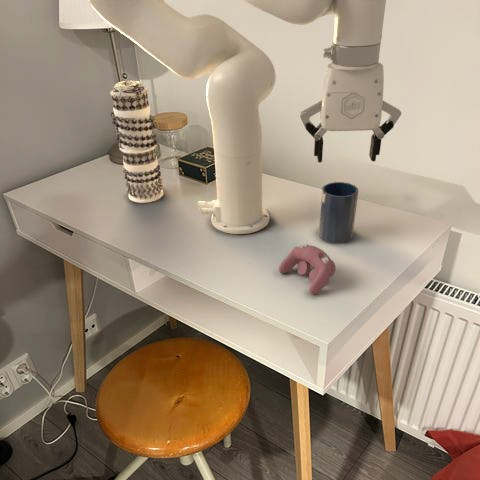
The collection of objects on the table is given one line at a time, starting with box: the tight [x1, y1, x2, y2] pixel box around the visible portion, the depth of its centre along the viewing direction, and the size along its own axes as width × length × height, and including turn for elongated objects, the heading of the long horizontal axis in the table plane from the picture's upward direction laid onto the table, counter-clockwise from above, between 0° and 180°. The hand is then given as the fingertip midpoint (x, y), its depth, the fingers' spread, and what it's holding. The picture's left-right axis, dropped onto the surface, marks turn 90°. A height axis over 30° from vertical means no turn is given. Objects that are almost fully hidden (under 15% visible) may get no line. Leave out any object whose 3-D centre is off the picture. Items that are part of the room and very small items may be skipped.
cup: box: [318, 181, 359, 245], centre depth 96 cm, size 7×7×10 cm
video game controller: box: [278, 243, 337, 296], centre depth 86 cm, size 10×5×7 cm, turn 35°
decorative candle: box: [109, 80, 164, 204], centre depth 109 cm, size 9×9×25 cm
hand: (345, 159), depth 89 cm, fingers open, 9 cm apart
